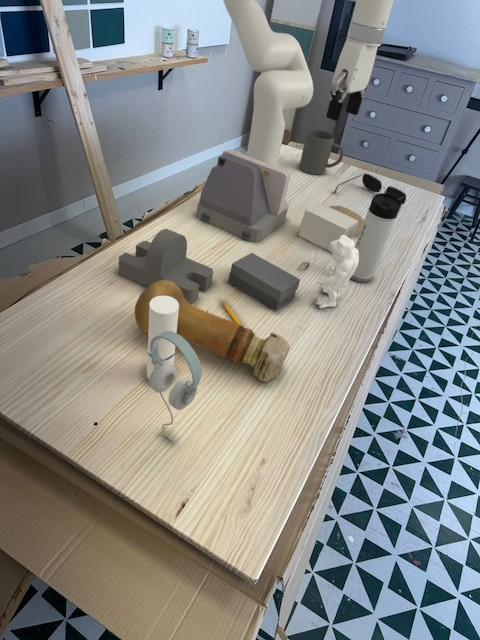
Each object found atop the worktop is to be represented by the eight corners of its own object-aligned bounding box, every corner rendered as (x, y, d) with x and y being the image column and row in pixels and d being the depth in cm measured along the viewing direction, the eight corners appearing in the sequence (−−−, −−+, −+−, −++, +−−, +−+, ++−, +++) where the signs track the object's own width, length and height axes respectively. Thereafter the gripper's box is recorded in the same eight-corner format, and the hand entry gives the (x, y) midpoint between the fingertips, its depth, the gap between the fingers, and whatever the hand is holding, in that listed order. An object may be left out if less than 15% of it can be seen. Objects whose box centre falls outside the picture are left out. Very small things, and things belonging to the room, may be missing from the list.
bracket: (143, 253, 105) (144, 210, 98) (213, 283, 100) (219, 240, 93) (116, 272, 98) (115, 227, 91) (190, 305, 93) (195, 260, 86)
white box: (302, 218, 119) (305, 209, 118) (316, 210, 124) (319, 202, 122) (343, 238, 114) (346, 229, 113) (355, 229, 119) (358, 220, 118)
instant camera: (294, 223, 127) (308, 171, 118) (247, 247, 114) (257, 190, 104) (236, 193, 136) (244, 142, 126) (185, 212, 123) (190, 156, 113)
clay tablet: (367, 226, 133) (370, 217, 131) (353, 238, 126) (356, 229, 124) (323, 207, 138) (326, 198, 137) (307, 217, 131) (309, 208, 130)
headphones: (138, 428, 69) (141, 328, 57) (159, 414, 72) (166, 315, 59) (177, 464, 66) (189, 366, 53) (197, 448, 68) (213, 350, 56)
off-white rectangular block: (297, 235, 123) (302, 218, 119) (311, 227, 127) (316, 210, 124) (337, 255, 118) (343, 238, 114) (350, 246, 122) (355, 229, 119)
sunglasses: (403, 208, 147) (408, 193, 143) (374, 223, 140) (379, 208, 136) (361, 185, 156) (364, 171, 152) (331, 198, 149) (335, 184, 145)
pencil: (267, 368, 83) (267, 365, 83) (220, 303, 95) (221, 301, 95) (270, 367, 84) (271, 364, 83) (224, 303, 96) (224, 300, 95)
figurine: (336, 318, 98) (359, 258, 88) (307, 307, 99) (326, 246, 89) (347, 292, 106) (370, 234, 96) (320, 282, 107) (339, 224, 97)
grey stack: (227, 282, 101) (231, 263, 98) (247, 270, 106) (251, 252, 103) (276, 311, 96) (281, 292, 93) (294, 298, 101) (300, 279, 98)
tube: (147, 364, 79) (150, 294, 70) (172, 365, 80) (179, 296, 70) (145, 383, 76) (148, 312, 67) (172, 384, 77) (178, 314, 67)
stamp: (278, 397, 78) (278, 326, 69) (134, 362, 87) (117, 296, 78) (295, 358, 85) (296, 290, 76) (161, 330, 94) (148, 265, 85)
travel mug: (374, 273, 114) (405, 197, 101) (368, 286, 109) (400, 208, 96) (349, 264, 115) (377, 188, 103) (343, 276, 110) (371, 198, 98)
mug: (295, 169, 157) (303, 133, 150) (303, 161, 164) (312, 127, 157) (333, 182, 154) (343, 146, 147) (340, 173, 161) (350, 138, 153)
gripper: (367, 30, 109) (345, 106, 119) (331, 31, 97) (310, 116, 108) (396, 38, 106) (371, 116, 116) (362, 40, 94) (338, 126, 105)
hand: (342, 116), depth 112 cm, fingers open, 9 cm apart
